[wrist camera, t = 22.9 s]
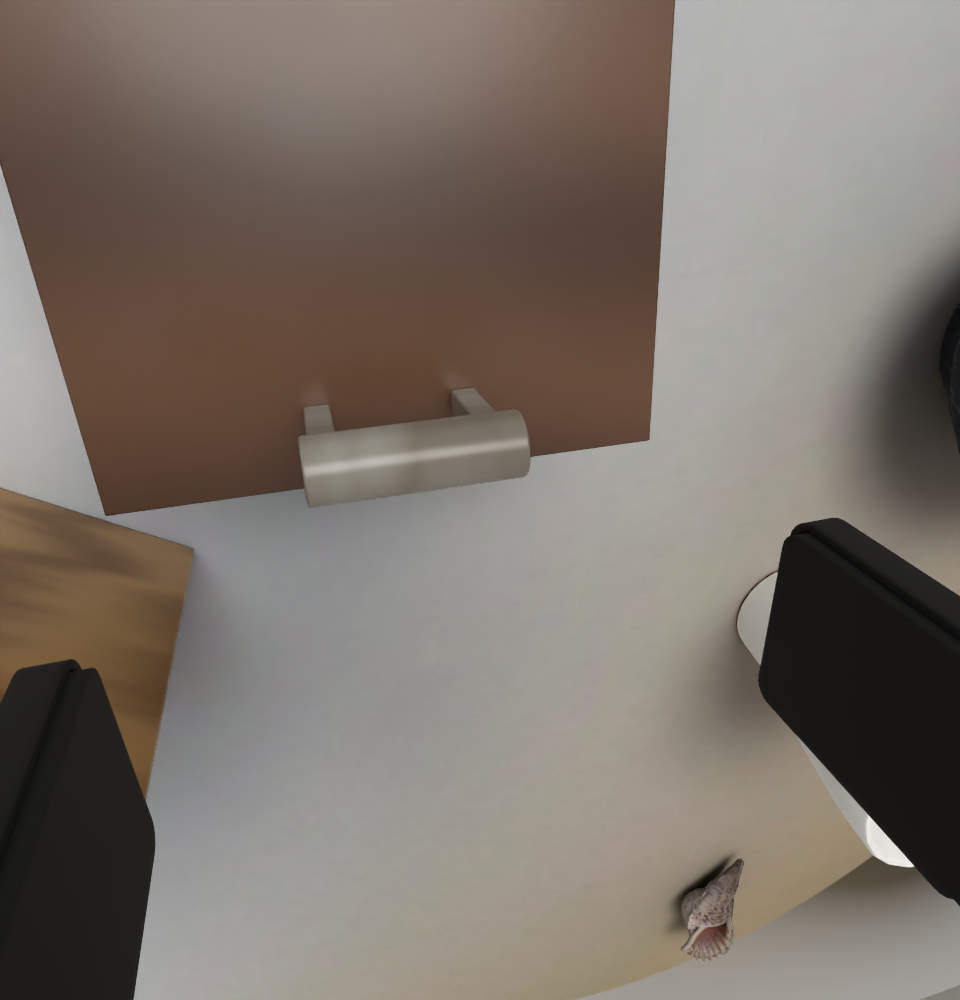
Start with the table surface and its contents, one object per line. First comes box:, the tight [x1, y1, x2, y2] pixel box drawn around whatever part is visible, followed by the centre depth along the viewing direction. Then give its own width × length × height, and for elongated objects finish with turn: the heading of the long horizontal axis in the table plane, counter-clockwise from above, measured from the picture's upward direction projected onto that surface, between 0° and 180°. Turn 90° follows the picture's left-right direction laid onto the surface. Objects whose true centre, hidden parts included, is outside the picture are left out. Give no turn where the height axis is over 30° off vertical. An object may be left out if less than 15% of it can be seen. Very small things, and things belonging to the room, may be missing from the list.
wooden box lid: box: [0, 0, 675, 516], centre depth 16 cm, size 14×16×5 cm
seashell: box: [681, 859, 744, 961], centre depth 52 cm, size 4×8×4 cm
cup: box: [737, 572, 914, 867], centre depth 37 cm, size 10×10×14 cm
